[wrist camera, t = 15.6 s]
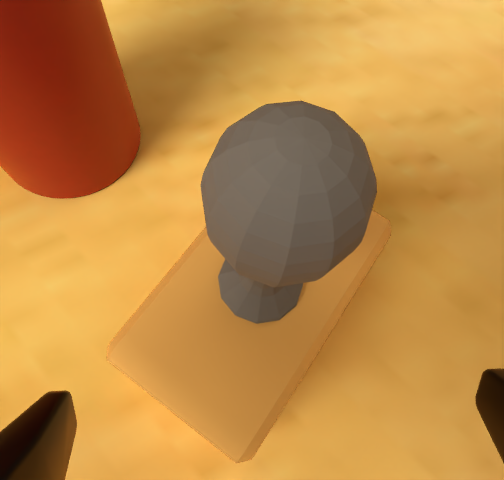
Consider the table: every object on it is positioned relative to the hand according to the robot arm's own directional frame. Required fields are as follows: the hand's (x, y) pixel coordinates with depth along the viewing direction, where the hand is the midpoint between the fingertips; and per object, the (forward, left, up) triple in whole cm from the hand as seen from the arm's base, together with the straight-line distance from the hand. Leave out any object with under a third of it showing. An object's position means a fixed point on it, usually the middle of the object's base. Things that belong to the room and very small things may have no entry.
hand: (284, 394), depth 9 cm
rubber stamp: (+3, +2, -8) cm, 9 cm away
